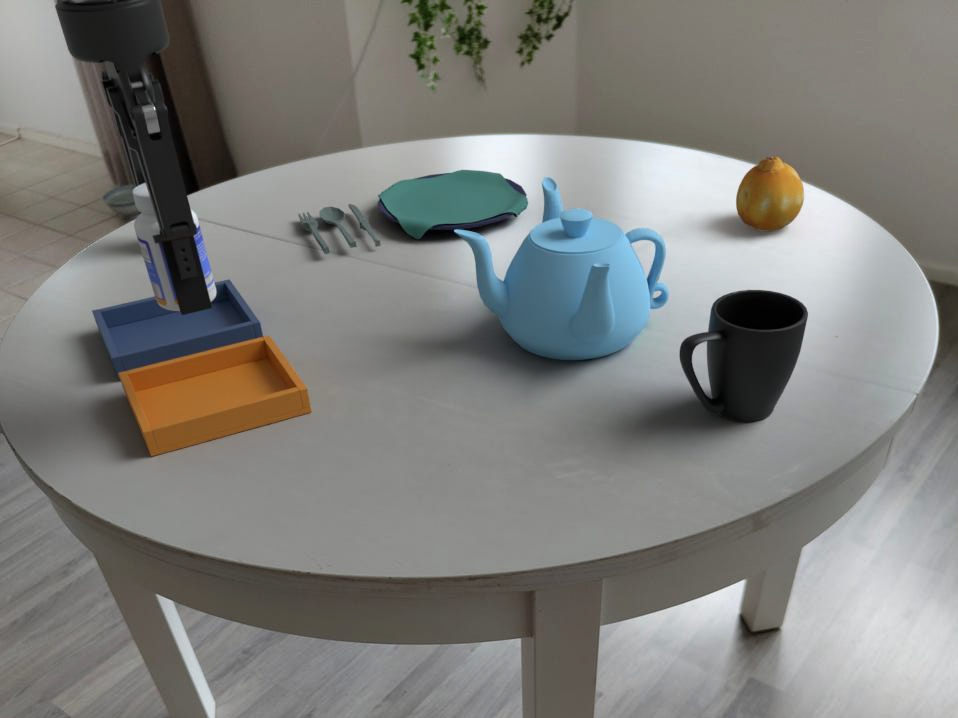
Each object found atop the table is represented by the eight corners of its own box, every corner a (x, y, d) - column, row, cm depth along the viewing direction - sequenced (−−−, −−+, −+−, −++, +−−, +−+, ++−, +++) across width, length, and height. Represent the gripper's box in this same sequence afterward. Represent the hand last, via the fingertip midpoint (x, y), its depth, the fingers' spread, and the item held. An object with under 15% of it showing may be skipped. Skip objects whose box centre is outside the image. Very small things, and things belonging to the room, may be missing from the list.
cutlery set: (549, 225, 122) (549, 207, 120) (324, 267, 115) (321, 248, 114) (496, 177, 135) (495, 160, 133) (292, 212, 129) (289, 195, 127)
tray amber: (151, 456, 86) (142, 432, 84) (125, 396, 95) (117, 372, 93) (311, 412, 91) (307, 388, 89) (274, 357, 99) (269, 334, 97)
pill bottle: (227, 288, 86) (200, 177, 80) (201, 314, 83) (171, 200, 76) (173, 285, 88) (143, 175, 81) (146, 311, 84) (111, 197, 77)
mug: (647, 409, 88) (656, 312, 82) (750, 376, 92) (767, 281, 85) (699, 451, 83) (713, 351, 76) (806, 414, 86) (829, 316, 80)
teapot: (455, 348, 99) (447, 229, 90) (545, 281, 110) (546, 169, 101) (599, 388, 92) (606, 263, 83) (681, 312, 102) (694, 194, 94)
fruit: (711, 203, 118) (749, 150, 111) (751, 191, 122) (790, 140, 115) (750, 253, 117) (790, 203, 110) (788, 240, 121) (830, 191, 114)
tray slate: (119, 381, 97) (111, 358, 95) (99, 332, 105) (91, 310, 103) (265, 344, 101) (260, 321, 99) (234, 300, 110) (229, 278, 108)
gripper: (183, 4, 64) (256, 327, 80) (132, -34, 76) (204, 253, 92) (71, 20, 62) (169, 348, 78) (36, -22, 74) (127, 270, 90)
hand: (188, 296), depth 85 cm, fingers closed on pill bottle, 5 cm apart
